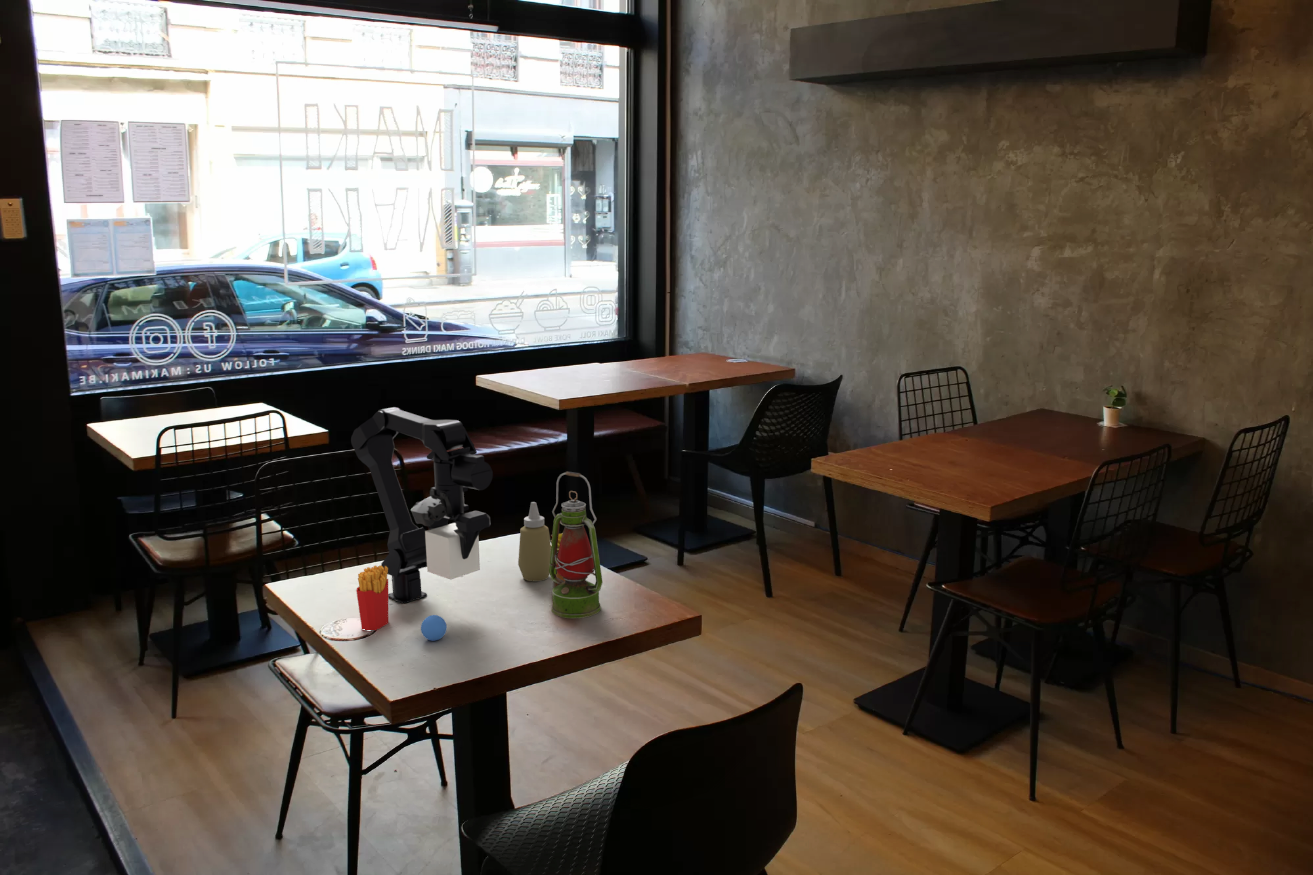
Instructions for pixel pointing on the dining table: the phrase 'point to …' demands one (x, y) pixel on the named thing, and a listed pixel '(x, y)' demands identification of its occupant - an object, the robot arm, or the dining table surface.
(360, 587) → the french fries
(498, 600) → the dining table surface
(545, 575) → the squeeze bottle
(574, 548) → the lantern
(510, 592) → the dining table surface
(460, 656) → the dining table surface
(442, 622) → the ball
